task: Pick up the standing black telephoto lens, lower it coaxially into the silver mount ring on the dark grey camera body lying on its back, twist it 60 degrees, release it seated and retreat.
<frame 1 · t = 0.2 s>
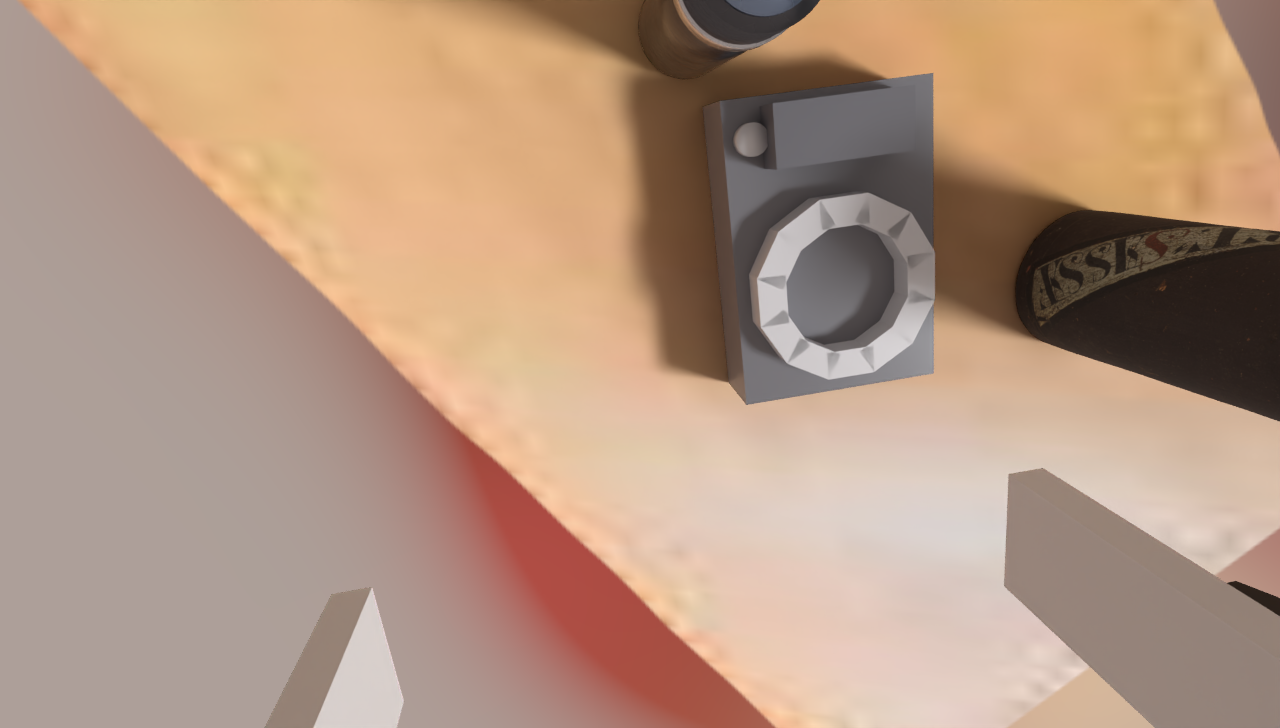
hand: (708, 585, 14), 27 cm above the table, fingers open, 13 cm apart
container: (1071, 279, 43), on the table
camera body: (808, 239, 40), on the table
lens: (685, 28, 36), on the table
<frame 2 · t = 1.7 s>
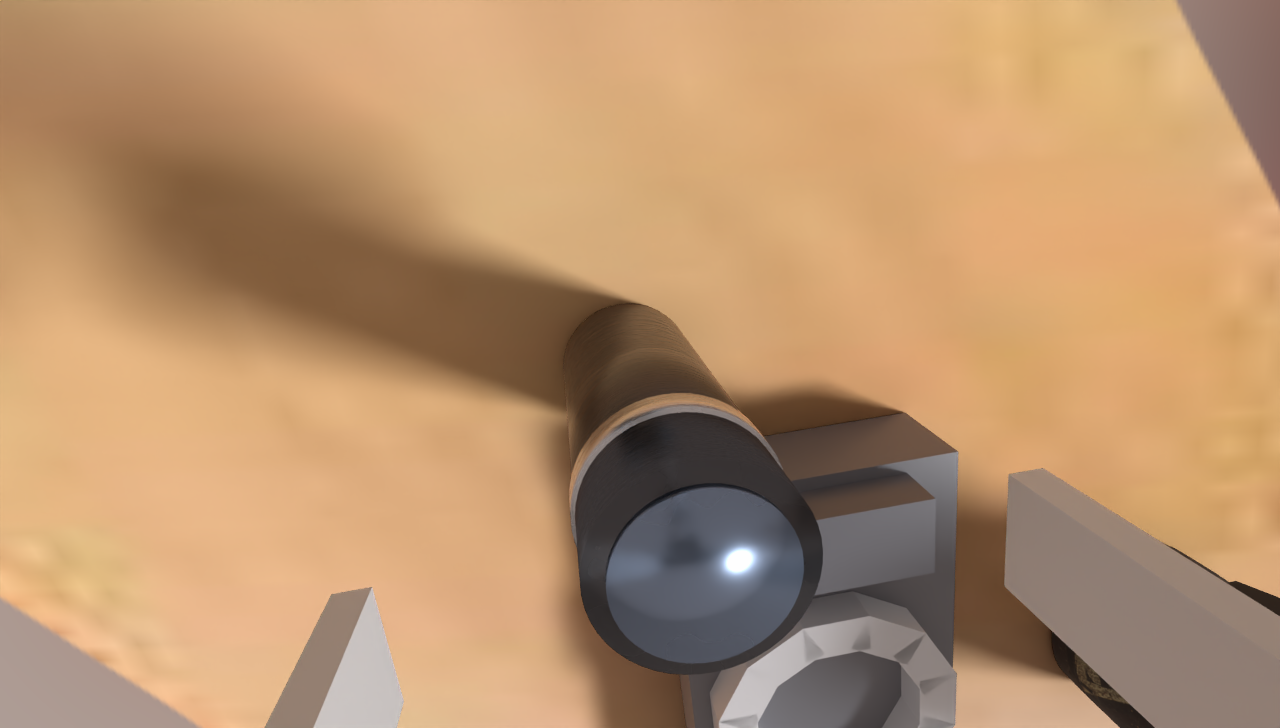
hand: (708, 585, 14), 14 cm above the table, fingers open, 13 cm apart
container: (1120, 612, 35), on the table
camera body: (790, 593, 31), on the table
lens: (627, 365, 27), on the table
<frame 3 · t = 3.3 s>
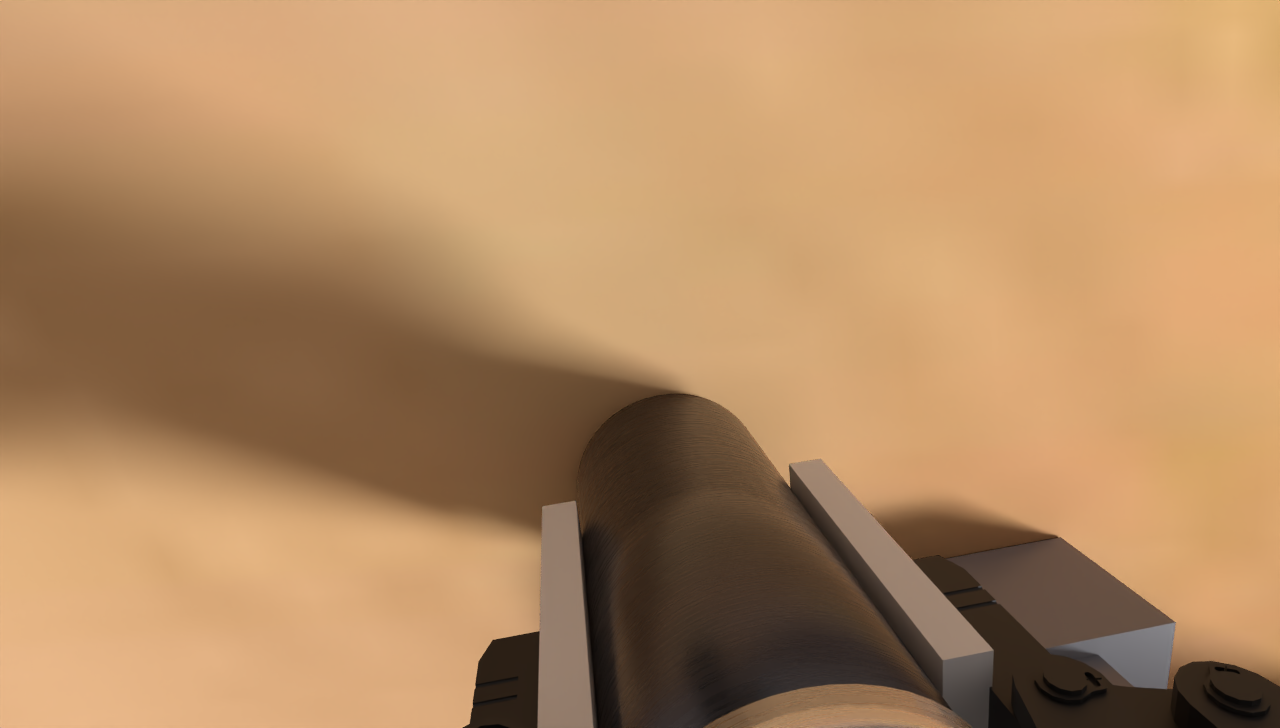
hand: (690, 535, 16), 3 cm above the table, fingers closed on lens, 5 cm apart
lens: (670, 482, 19), on the table, touching gripper
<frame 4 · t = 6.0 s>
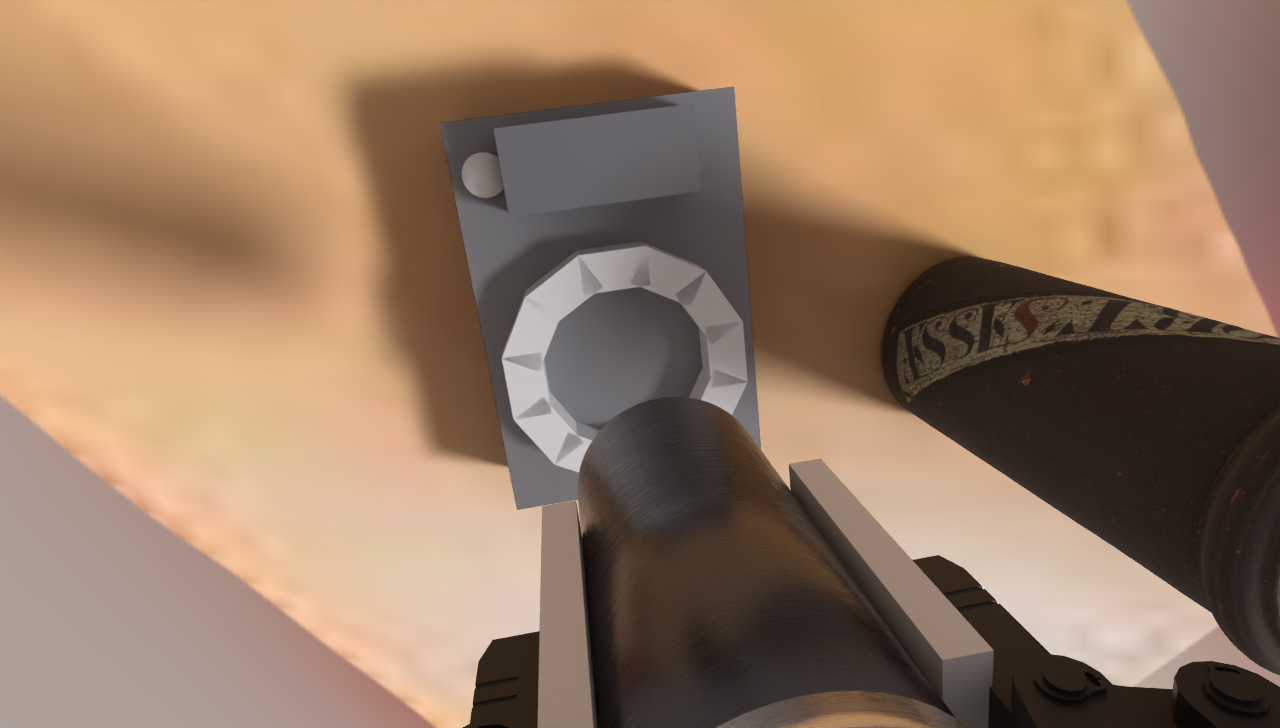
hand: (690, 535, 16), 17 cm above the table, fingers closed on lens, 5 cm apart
container: (953, 340, 35), on the table
camera body: (609, 293, 32), on the table
lens: (670, 484, 19), point 15 cm above the table, touching gripper
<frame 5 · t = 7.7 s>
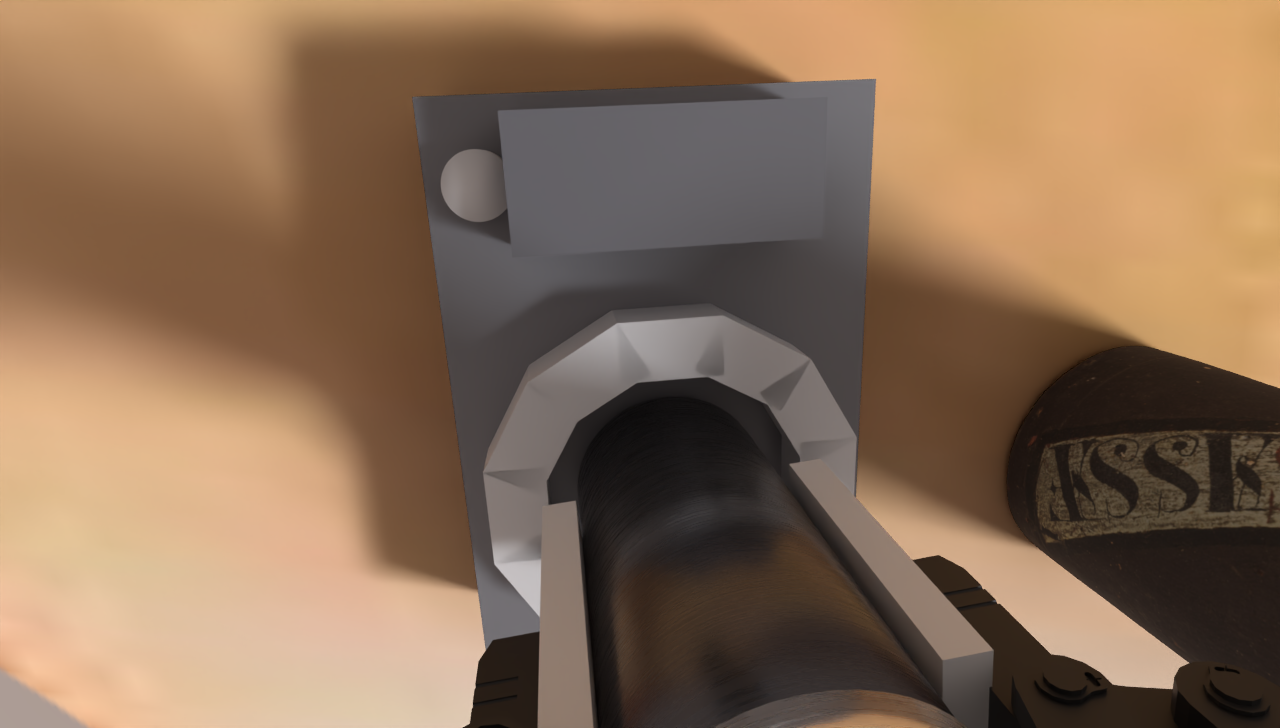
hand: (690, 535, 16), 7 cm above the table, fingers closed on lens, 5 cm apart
container: (1101, 454, 26), on the table
camera body: (645, 364, 22), on the table
lens: (670, 484, 19), point 5 cm above the table, touching gripper
when the fingers open (7 cm above the table, at t = 8.9 s): lens stays where it is, resting on camera body.
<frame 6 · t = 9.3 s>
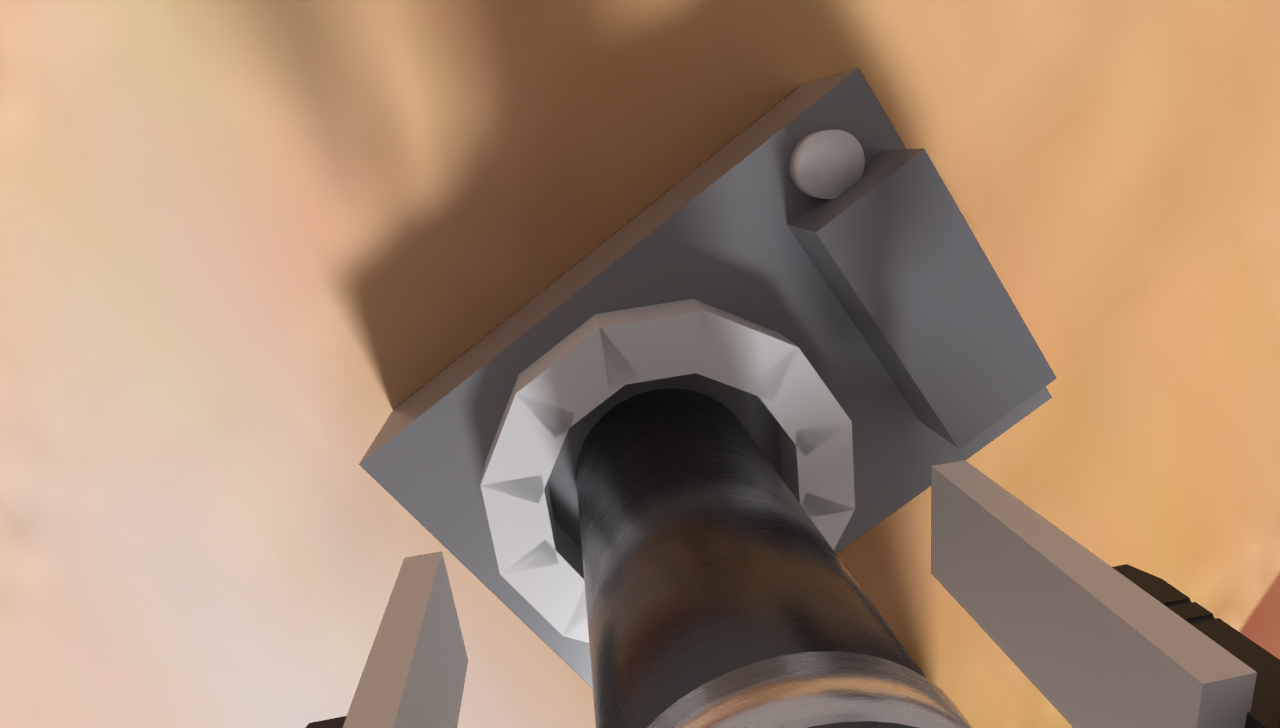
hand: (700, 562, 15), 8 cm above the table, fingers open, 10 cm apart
camera body: (694, 384, 23), on the table
lens: (666, 473, 19), point 4 cm above the table, touching camera body
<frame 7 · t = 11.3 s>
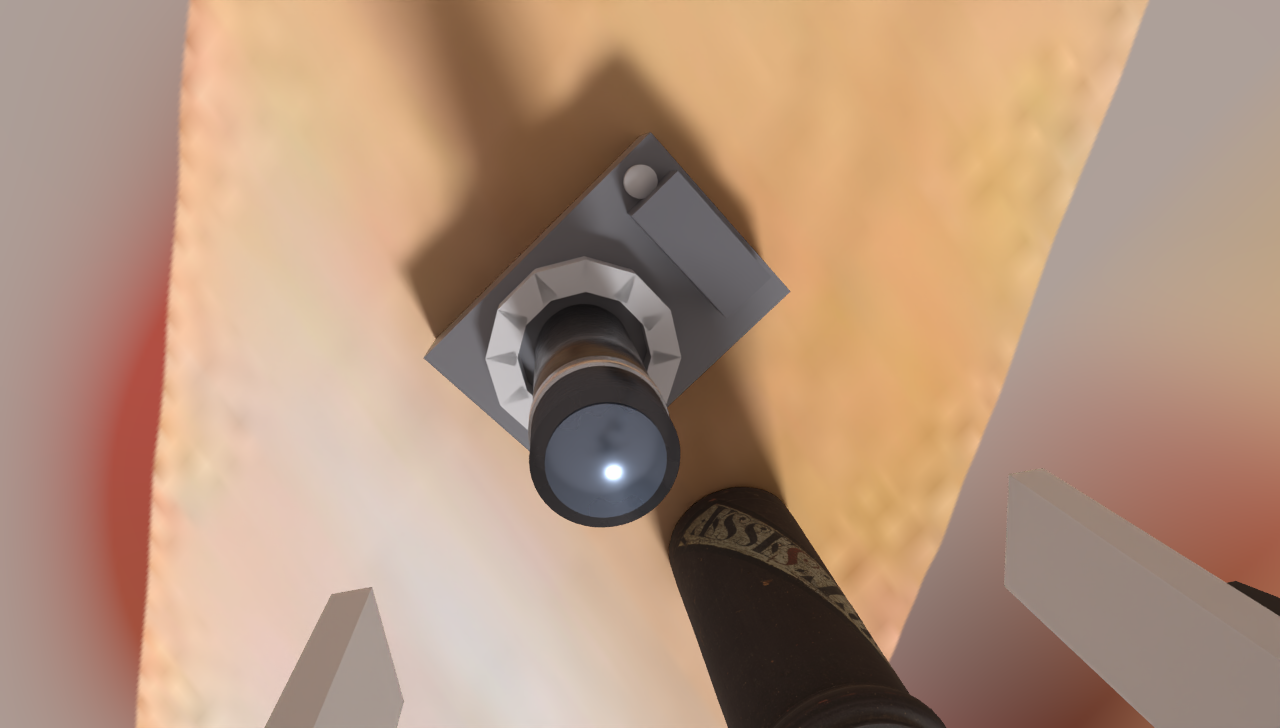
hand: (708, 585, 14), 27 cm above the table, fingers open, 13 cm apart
container: (729, 541, 45), on the table
camera body: (604, 308, 40), on the table
lens: (583, 351, 36), point 4 cm above the table, touching camera body
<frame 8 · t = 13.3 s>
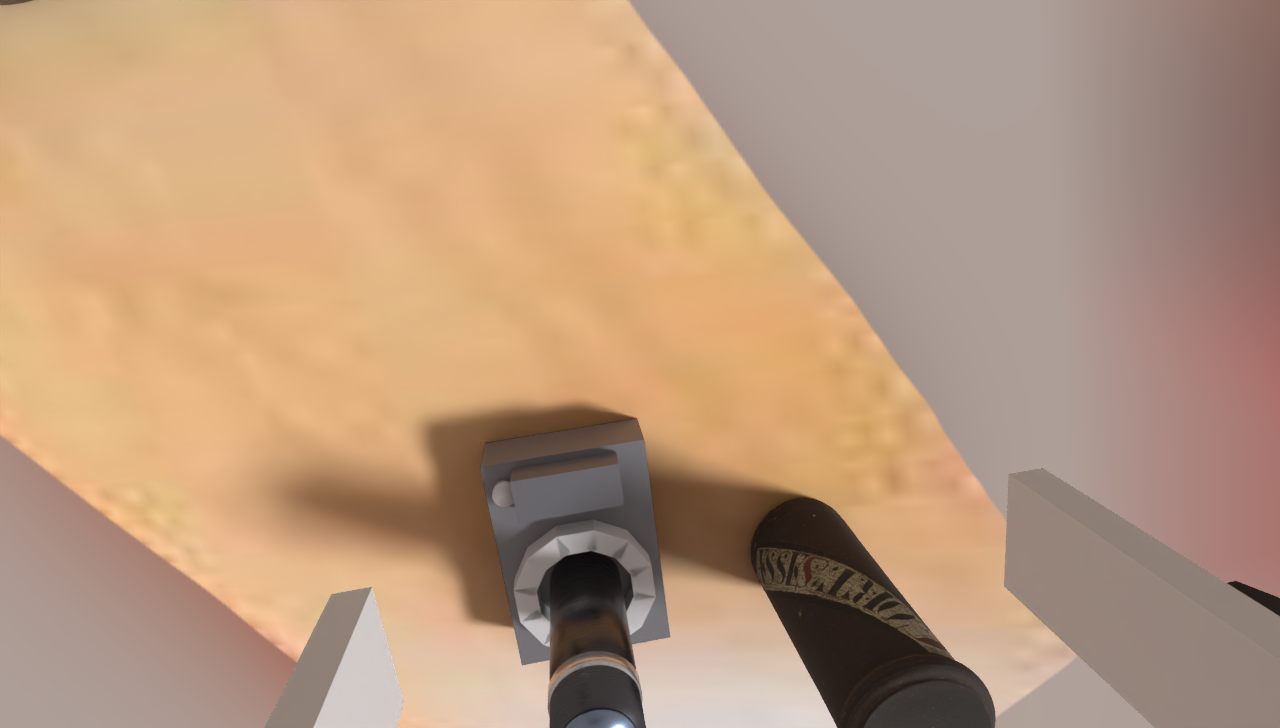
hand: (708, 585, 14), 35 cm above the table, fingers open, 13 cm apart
container: (798, 544, 55), on the table
camera body: (578, 527, 52), on the table
lens: (585, 581, 49), point 4 cm above the table, touching camera body
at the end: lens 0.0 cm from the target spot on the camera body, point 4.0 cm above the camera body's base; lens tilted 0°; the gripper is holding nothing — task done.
